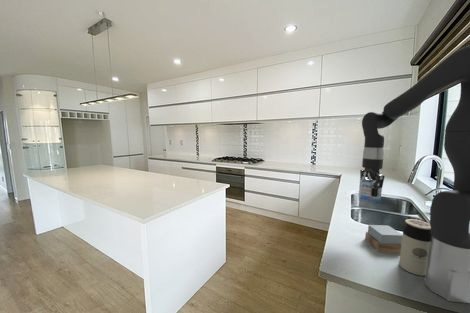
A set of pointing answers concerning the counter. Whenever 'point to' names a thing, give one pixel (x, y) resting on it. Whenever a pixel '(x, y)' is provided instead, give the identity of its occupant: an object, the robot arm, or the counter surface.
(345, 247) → the counter surface
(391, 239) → the tower top block
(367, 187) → the medicine box
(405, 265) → the travel mug
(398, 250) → the tower base block
